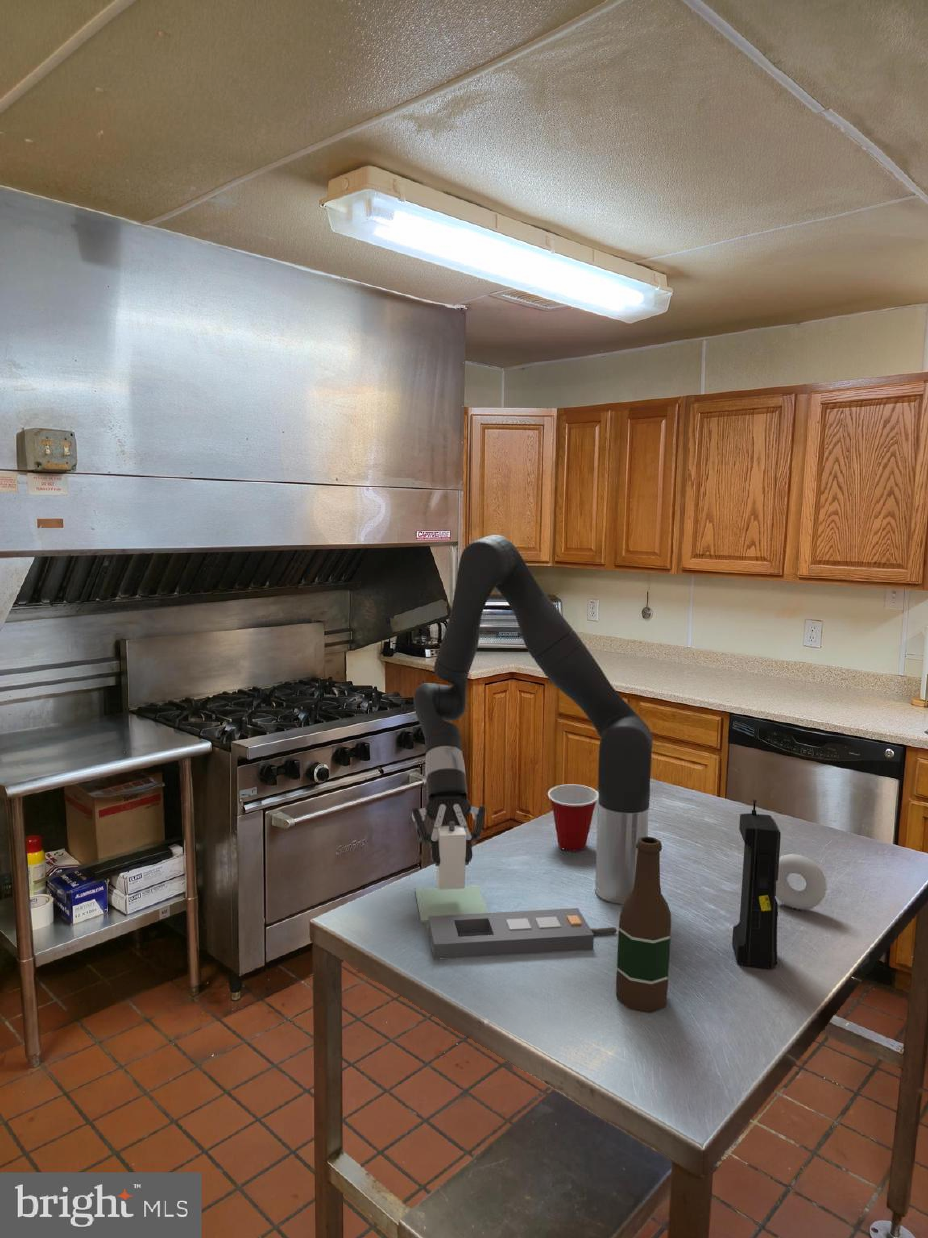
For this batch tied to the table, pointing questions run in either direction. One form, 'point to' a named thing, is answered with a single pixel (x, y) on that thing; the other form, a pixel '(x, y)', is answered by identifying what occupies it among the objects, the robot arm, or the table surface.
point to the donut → (812, 877)
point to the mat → (449, 901)
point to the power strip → (511, 933)
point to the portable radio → (758, 892)
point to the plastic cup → (573, 814)
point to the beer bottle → (644, 935)
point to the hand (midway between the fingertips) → (452, 863)
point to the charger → (451, 857)
